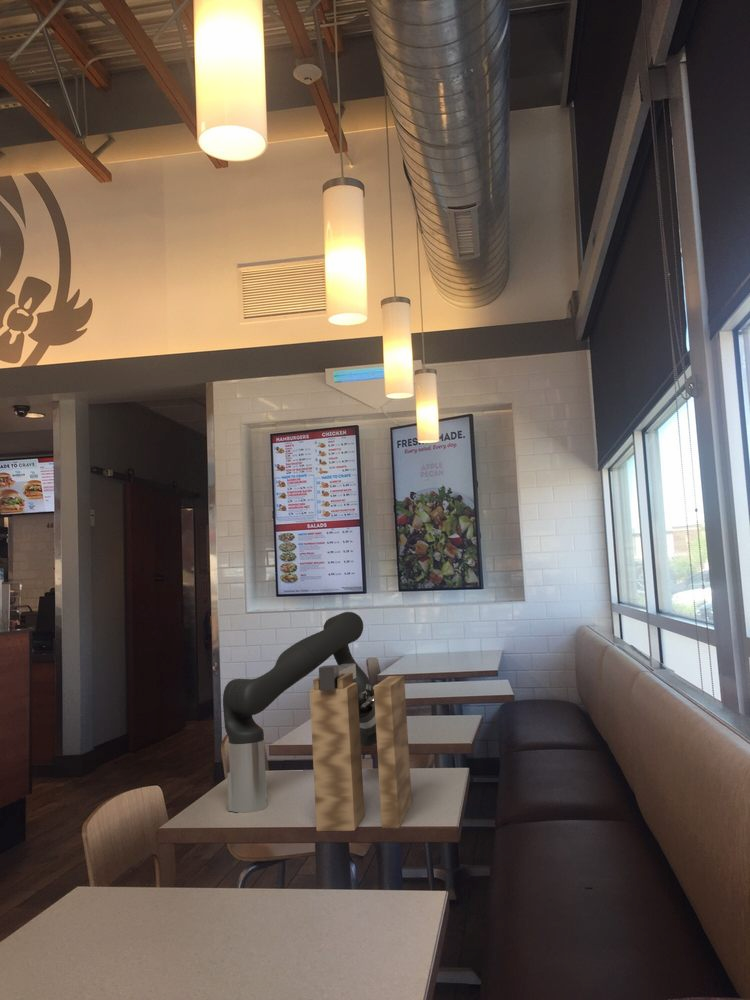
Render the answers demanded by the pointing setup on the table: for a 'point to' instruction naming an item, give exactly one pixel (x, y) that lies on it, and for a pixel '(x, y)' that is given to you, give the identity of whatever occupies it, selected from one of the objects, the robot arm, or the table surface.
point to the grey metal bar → (334, 675)
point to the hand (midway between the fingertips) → (351, 687)
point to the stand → (358, 754)
